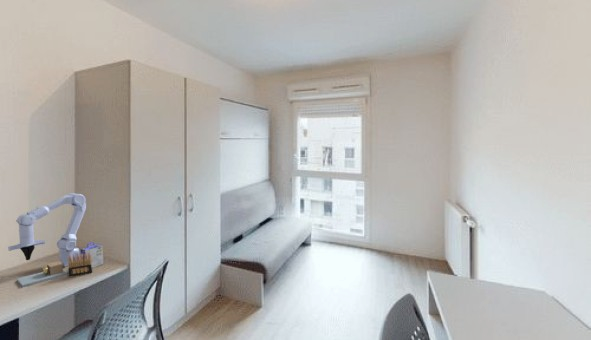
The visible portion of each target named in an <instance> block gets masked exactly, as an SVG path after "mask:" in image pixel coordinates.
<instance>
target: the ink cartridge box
mask: <svg viewBox="0 0 591 340" xmlns="http://www.w3.org/2000/svg"><path fill="white" fill-rule="evenodd" d="M86 246H87V247H84V248H80V255H81V254H82V255H83V260H84V256H85V253H86V254H87V260H88V254H89V253H90V254H91V262H92V269H93V268H96V267H100V266H102V265H103V264H104V255H103V253H104V251H103V245H102V244H98V243H97V244H95V242H88V243H86Z"/></svg>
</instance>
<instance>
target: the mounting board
mask: <svg viewBox="0 0 591 340" xmlns="http://www.w3.org/2000/svg"><path fill="white" fill-rule="evenodd" d="M46 267H50V272H49V273H48V274H45V275H44V274H43V271H40V272H38V273H34V274H30V275H25V276H22V277H19V278H17V282H18V283H19V285H20V286H21V288H25V287H29V286H33V285H36V284H39V283H40V284H41V283H44V282H47V281H50V280H53V279H57V278H61V277H64V276H68V274H67V273H68V272H66V271H65V270H64V268H63V264H62V263H61V262H60V260H57V261H54V262H50V263H47V264H46Z"/></svg>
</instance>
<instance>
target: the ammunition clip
mask: <svg viewBox="0 0 591 340" xmlns="http://www.w3.org/2000/svg"><path fill="white" fill-rule="evenodd" d="M67 267H68V272H67V273H68V274H67V276H68V278H71V277H75V276H77V277H78V276H83V275H88V274H93V268H92V262H91V254H90V253H89V254H88V260H87V254H86V253H85V256H84V260H83V255H82V254H81V253H80V260H79V255H78V254H77V261H76V260H75V255H73V262H72V260H71V256H69V263H68V266H67Z"/></svg>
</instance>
